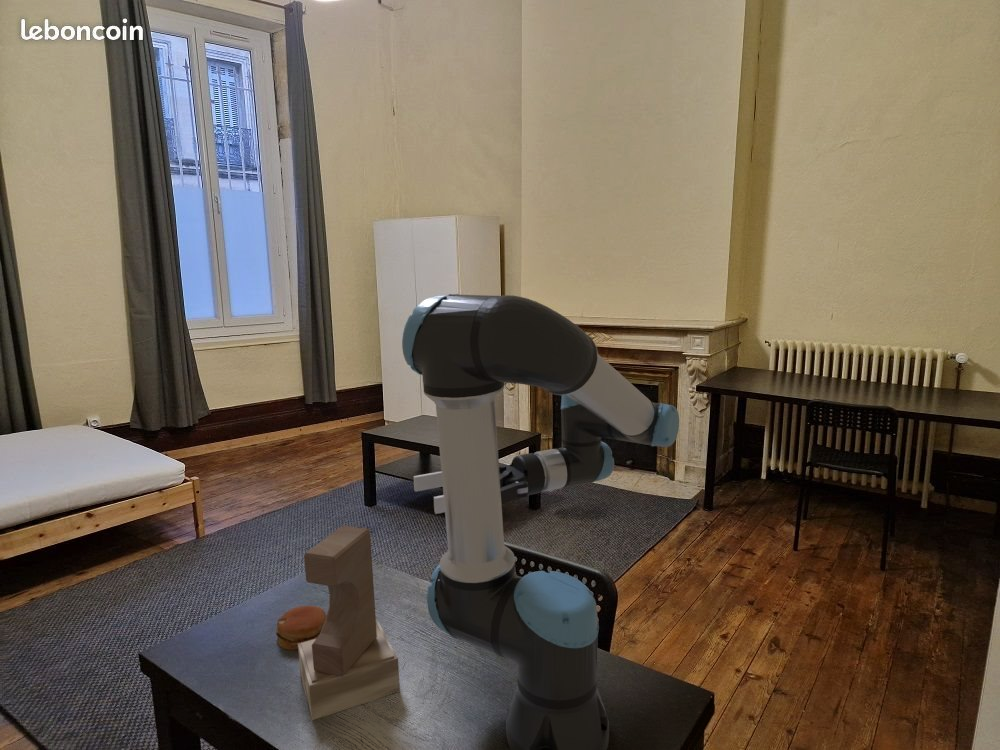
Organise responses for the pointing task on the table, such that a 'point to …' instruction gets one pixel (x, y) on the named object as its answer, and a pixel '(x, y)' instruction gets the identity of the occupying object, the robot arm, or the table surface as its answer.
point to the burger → (300, 626)
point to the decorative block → (343, 598)
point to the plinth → (350, 678)
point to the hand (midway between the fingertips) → (424, 494)
